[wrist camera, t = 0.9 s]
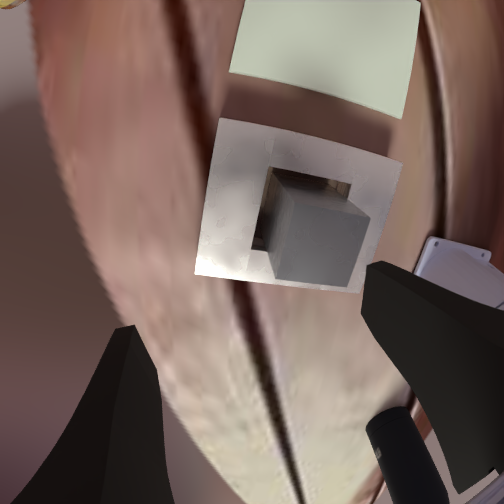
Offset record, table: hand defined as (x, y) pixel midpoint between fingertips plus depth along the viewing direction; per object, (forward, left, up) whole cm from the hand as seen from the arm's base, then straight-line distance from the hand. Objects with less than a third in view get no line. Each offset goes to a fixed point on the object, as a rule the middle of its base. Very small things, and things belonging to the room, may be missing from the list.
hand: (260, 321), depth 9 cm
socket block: (-4, 0, -13) cm, 14 cm away
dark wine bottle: (-25, +26, -13) cm, 38 cm away
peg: (-4, 0, -13) cm, 14 cm away
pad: (-4, -13, -13) cm, 19 cm away
